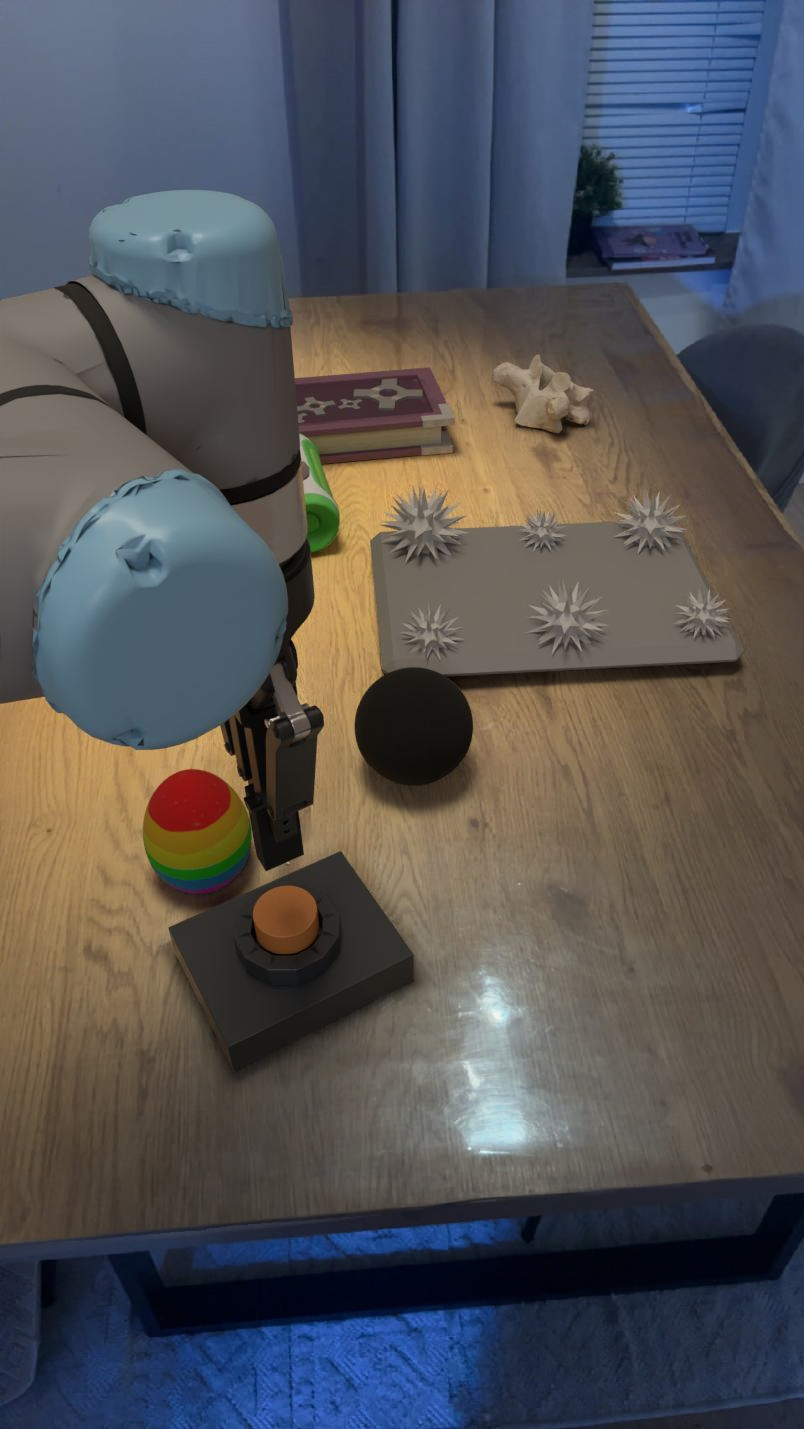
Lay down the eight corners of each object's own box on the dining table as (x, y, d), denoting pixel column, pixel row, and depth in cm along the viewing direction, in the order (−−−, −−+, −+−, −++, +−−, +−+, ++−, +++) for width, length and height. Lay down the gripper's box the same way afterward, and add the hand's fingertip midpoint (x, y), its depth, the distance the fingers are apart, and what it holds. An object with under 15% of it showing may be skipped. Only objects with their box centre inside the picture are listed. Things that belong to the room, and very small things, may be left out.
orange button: (272, 965, 68) (269, 947, 67) (245, 919, 71) (242, 901, 70) (330, 937, 70) (328, 919, 69) (302, 893, 73) (299, 875, 71)
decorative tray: (383, 694, 96) (380, 608, 90) (369, 546, 115) (366, 467, 109) (744, 674, 98) (768, 588, 91) (671, 532, 117) (687, 453, 110)
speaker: (344, 553, 114) (341, 494, 109) (280, 561, 113) (274, 502, 108) (319, 478, 127) (315, 422, 122) (261, 485, 126) (255, 429, 121)
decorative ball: (339, 794, 86) (333, 707, 80) (379, 720, 93) (376, 633, 87) (451, 822, 84) (454, 734, 77) (484, 743, 91) (489, 656, 84)
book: (258, 472, 129) (254, 435, 125) (251, 416, 140) (247, 381, 137) (454, 454, 132) (455, 418, 128) (430, 400, 144) (430, 366, 140)
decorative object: (555, 451, 134) (557, 399, 128) (475, 414, 141) (473, 363, 135) (595, 419, 138) (599, 366, 132) (515, 385, 145) (515, 333, 138)
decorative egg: (245, 818, 84) (230, 731, 78) (266, 892, 79) (252, 805, 72) (146, 842, 83) (122, 754, 76) (160, 920, 77) (136, 832, 70)
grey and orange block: (234, 1072, 68) (224, 1032, 64) (174, 953, 75) (163, 911, 71) (414, 980, 73) (414, 938, 69) (342, 876, 80) (339, 834, 76)
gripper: (363, 586, 47) (379, 900, 63) (249, 469, 55) (289, 772, 71) (212, 639, 44) (269, 953, 60) (116, 507, 53) (188, 813, 68)
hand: (280, 855), depth 66 cm, fingers closed
